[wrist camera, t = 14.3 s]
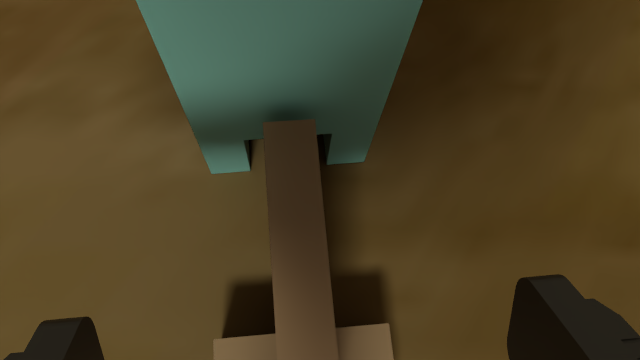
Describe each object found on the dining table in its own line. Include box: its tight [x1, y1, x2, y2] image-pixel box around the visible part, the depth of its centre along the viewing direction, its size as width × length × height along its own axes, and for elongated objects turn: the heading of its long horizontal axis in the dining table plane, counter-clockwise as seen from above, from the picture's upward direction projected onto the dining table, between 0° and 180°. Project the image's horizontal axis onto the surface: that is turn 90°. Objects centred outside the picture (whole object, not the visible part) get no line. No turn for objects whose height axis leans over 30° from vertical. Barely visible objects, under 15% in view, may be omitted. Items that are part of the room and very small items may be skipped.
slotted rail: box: [213, 119, 394, 360], centre depth 19 cm, size 6×22×6 cm, turn 5°
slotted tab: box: [136, 0, 423, 174], centre depth 16 cm, size 6×2×12 cm, turn 96°
